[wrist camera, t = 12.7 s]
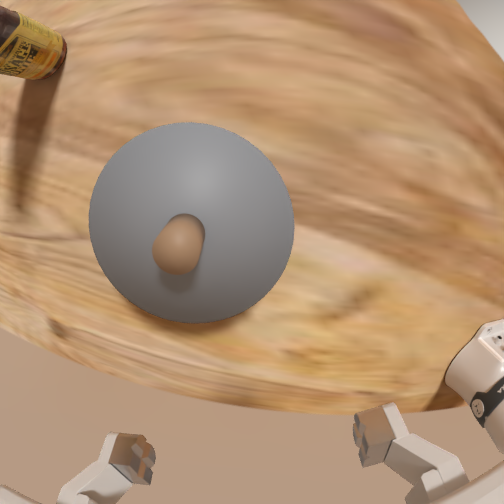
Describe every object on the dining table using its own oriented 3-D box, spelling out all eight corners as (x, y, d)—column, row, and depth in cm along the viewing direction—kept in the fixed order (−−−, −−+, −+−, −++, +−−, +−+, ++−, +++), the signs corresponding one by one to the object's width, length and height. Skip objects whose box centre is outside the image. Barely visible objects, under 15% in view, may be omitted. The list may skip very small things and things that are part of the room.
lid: (275, 105, 20) (286, 96, 15) (301, 301, 26) (313, 334, 22) (74, 155, 20) (41, 162, 16) (128, 325, 27) (113, 358, 22)
